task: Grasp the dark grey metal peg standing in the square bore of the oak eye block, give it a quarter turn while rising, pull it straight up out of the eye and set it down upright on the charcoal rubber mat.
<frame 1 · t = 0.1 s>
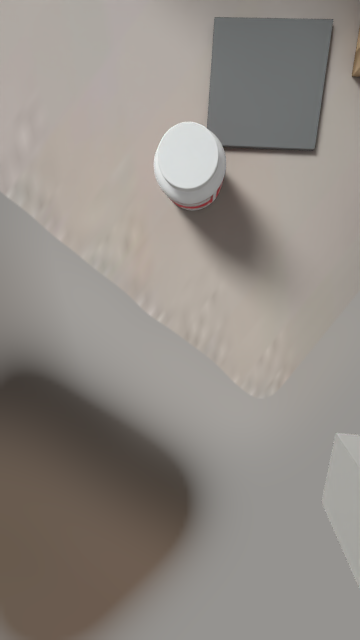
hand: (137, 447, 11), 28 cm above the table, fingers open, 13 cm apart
rubber mat: (265, 87, 33), on the table
pill bottle: (193, 181, 35), on the table
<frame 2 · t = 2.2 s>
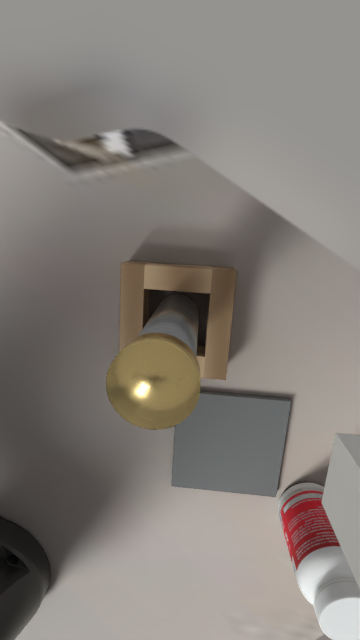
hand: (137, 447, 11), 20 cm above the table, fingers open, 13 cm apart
rubber mat: (227, 442, 34), on the table
pill bottle: (305, 503, 35), on the table
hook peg: (169, 339, 23), in the eye block
eye block: (177, 315, 31), on the table
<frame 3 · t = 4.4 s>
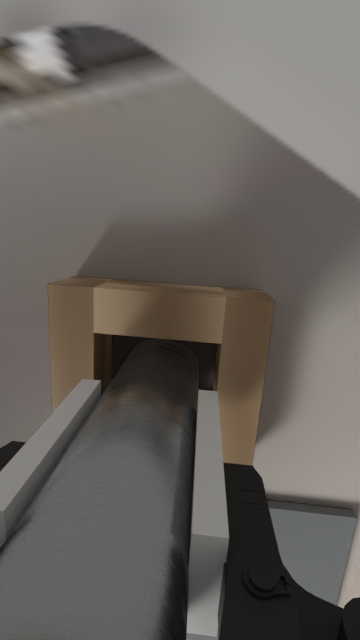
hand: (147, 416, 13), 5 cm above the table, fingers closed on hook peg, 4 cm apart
rubber mat: (246, 571, 21), on the table
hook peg: (130, 468, 10), in the eye block, touching gripper
eye block: (162, 371, 18), on the table
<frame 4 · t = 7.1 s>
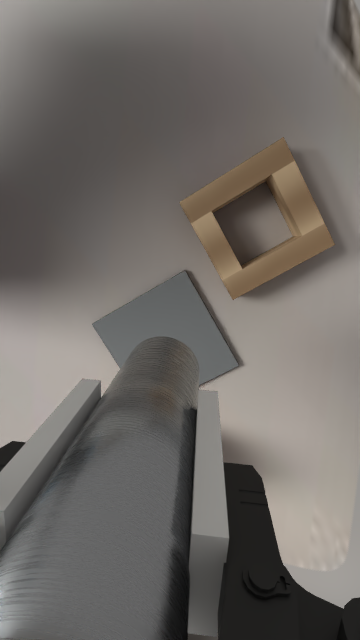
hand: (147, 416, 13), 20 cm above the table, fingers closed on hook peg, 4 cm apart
rubber mat: (165, 343, 34), on the table
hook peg: (131, 469, 10), point 23 cm above the table, touching gripper
eye block: (252, 225, 30), on the table
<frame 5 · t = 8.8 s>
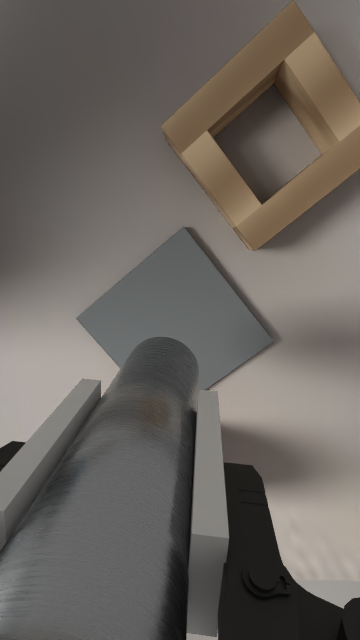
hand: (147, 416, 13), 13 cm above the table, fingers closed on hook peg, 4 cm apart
rubber mat: (174, 327, 26), on the table
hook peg: (130, 468, 10), point 16 cm above the table, touching gripper
eye block: (263, 149, 22), on the table
when the fingers open (6 cm above the table, at t = 10.3 s): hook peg stays where it is, resting on rubber mat.
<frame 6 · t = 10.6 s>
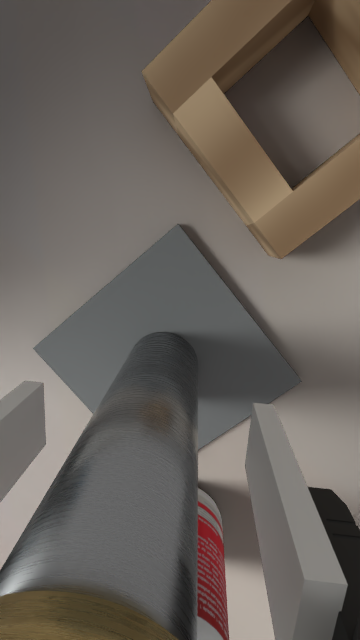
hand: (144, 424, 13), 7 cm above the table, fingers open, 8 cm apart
rubber mat: (165, 360, 19), on the table
pill bottle: (176, 514, 22), on the table
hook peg: (139, 451, 11), on the rubber mat, point 8 cm above the table
eye block: (292, 113, 16), on the table
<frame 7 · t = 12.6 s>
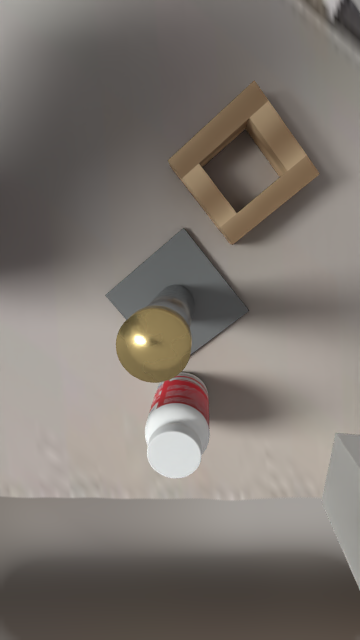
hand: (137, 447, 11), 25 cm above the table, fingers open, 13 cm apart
rubber mat: (176, 301, 36), on the table
pill bottle: (182, 394, 39), on the table
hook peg: (167, 319, 27), on the rubber mat, point 8 cm above the table
eye block: (239, 173, 32), on the table
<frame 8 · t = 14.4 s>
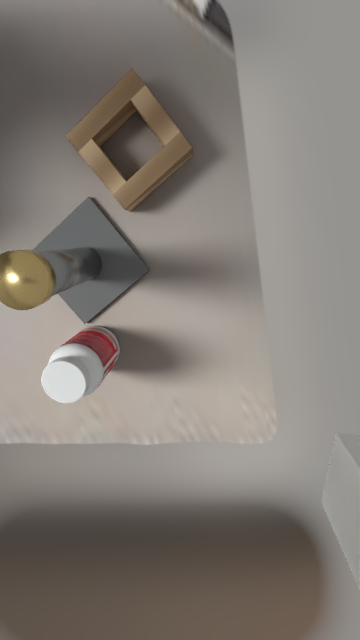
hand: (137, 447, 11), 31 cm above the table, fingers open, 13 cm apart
rubber mat: (88, 263, 41), on the table
pill bottle: (98, 347, 44), on the table
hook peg: (60, 270, 33), on the rubber mat, point 8 cm above the table
eye block: (134, 149, 37), on the table
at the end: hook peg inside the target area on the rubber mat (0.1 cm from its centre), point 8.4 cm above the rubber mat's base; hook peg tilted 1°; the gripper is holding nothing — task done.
